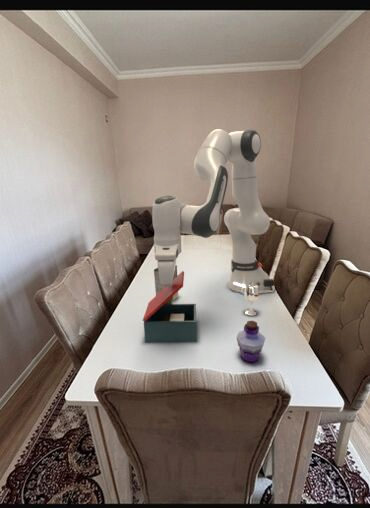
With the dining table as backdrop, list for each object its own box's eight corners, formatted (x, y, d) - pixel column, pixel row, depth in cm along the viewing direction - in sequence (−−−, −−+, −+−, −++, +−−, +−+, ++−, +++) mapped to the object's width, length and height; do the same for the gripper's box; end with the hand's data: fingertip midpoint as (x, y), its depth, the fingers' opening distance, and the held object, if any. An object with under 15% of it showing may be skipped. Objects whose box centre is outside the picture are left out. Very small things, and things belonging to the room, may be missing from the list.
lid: (184, 272, 91) (182, 270, 91) (183, 286, 79) (181, 284, 79) (150, 303, 95) (148, 302, 95) (144, 322, 83) (142, 320, 83)
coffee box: (167, 294, 120) (165, 263, 116) (178, 297, 117) (177, 265, 112) (155, 302, 113) (153, 269, 108) (167, 305, 110) (165, 271, 105)
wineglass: (259, 316, 99) (261, 288, 95) (245, 316, 99) (246, 289, 95) (255, 309, 104) (257, 282, 101) (241, 309, 104) (243, 283, 101)
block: (184, 325, 93) (184, 313, 92) (184, 333, 88) (184, 321, 87) (171, 325, 93) (170, 313, 92) (170, 333, 89) (169, 321, 87)
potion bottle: (246, 344, 83) (248, 312, 79) (270, 357, 77) (273, 323, 73) (229, 356, 78) (230, 322, 74) (253, 371, 71) (255, 335, 68)
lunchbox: (196, 321, 97) (195, 303, 95) (196, 341, 85) (196, 321, 83) (150, 322, 97) (149, 304, 95) (145, 342, 85) (143, 322, 83)
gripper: (161, 240, 92) (163, 275, 96) (153, 256, 72) (157, 299, 76) (179, 239, 92) (180, 274, 96) (175, 256, 72) (177, 299, 76)
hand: (169, 286), depth 86 cm, fingers closed, pressing on lid
